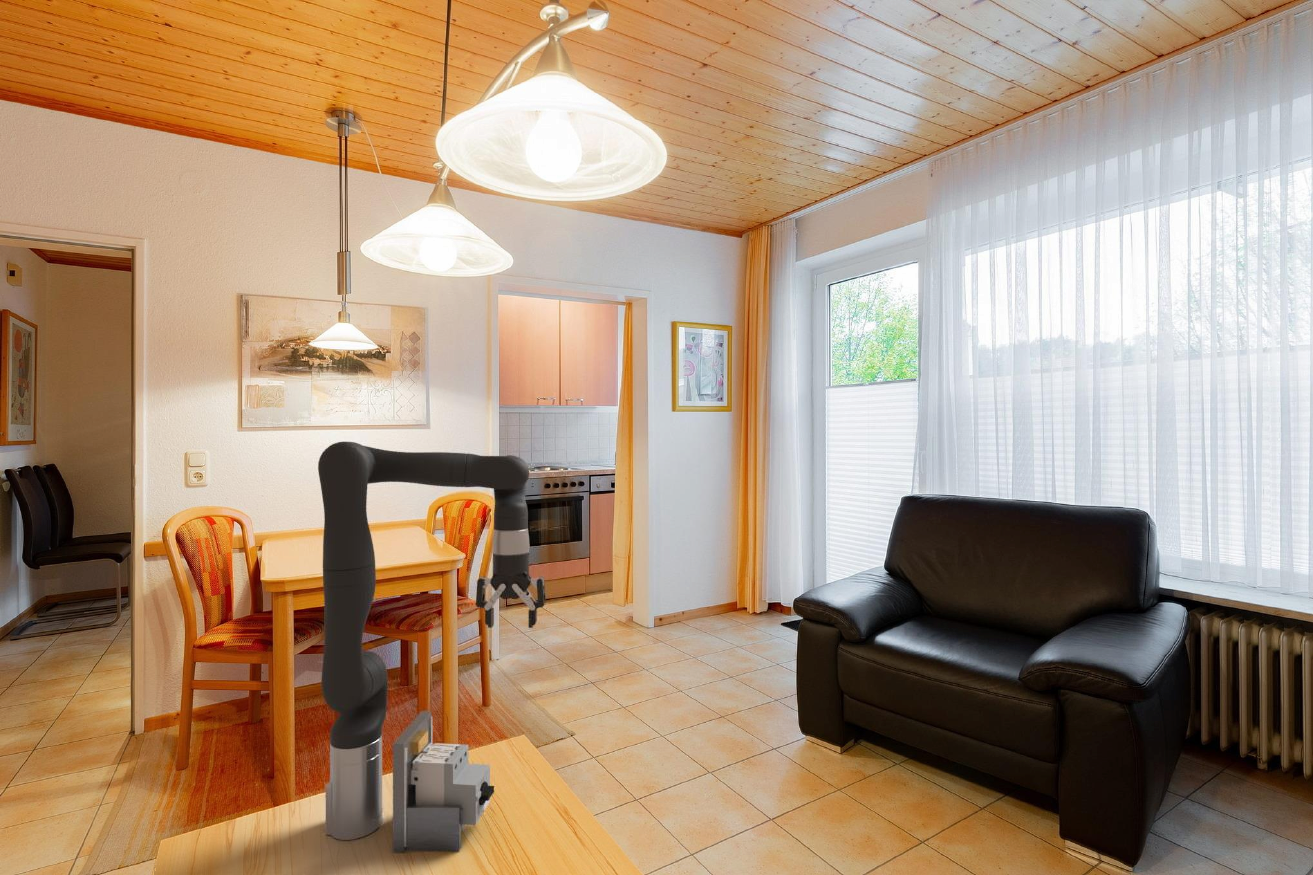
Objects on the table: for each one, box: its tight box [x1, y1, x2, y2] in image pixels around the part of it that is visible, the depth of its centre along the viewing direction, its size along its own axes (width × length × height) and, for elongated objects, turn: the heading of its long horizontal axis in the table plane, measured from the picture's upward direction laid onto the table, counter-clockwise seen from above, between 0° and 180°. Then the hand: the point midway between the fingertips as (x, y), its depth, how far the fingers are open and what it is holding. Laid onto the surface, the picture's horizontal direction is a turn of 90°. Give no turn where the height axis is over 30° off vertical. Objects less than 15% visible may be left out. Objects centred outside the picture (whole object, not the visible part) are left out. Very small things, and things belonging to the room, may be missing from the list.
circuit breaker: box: [411, 742, 495, 831], centre depth 124 cm, size 8×14×15 cm, turn 85°
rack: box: [392, 710, 462, 854], centre depth 124 cm, size 12×14×20 cm
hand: (511, 626), depth 135 cm, fingers open, 8 cm apart
